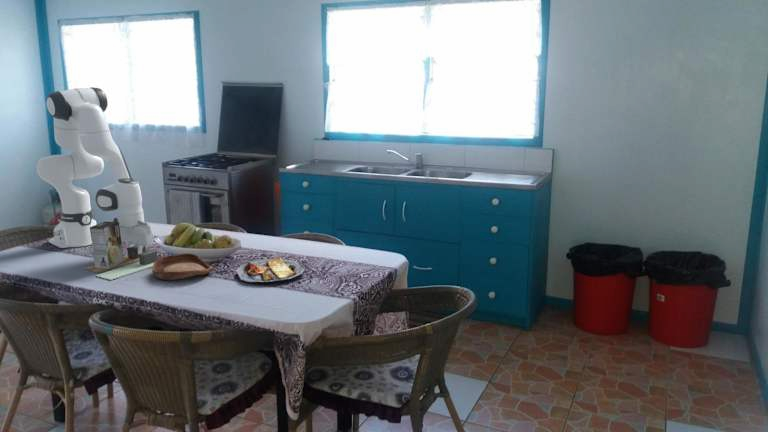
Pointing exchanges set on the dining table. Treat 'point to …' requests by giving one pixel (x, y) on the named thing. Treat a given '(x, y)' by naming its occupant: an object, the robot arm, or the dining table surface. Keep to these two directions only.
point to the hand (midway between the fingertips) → (135, 253)
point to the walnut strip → (128, 259)
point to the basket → (180, 267)
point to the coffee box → (106, 244)
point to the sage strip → (132, 266)
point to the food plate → (269, 270)
